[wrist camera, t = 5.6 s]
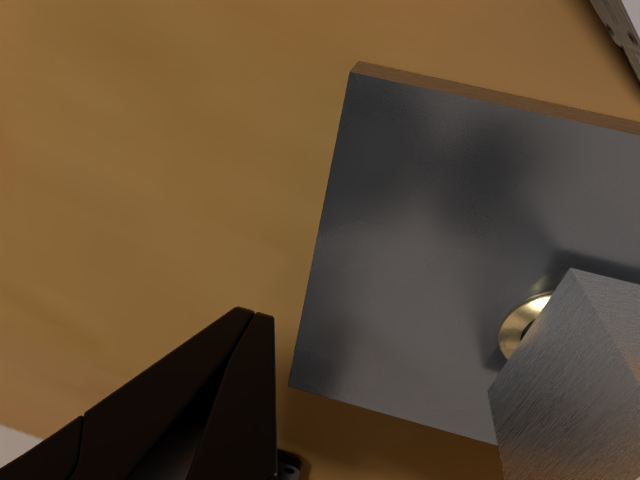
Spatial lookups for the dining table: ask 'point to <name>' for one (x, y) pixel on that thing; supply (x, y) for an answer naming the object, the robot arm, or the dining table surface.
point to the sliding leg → (574, 386)
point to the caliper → (622, 26)
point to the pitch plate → (455, 240)
